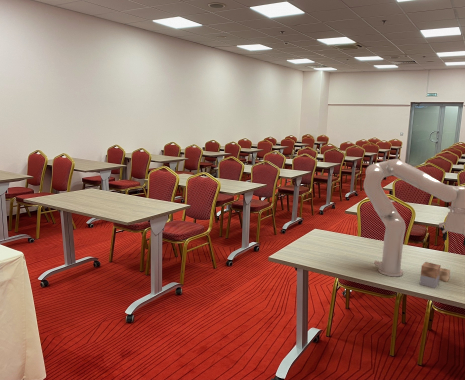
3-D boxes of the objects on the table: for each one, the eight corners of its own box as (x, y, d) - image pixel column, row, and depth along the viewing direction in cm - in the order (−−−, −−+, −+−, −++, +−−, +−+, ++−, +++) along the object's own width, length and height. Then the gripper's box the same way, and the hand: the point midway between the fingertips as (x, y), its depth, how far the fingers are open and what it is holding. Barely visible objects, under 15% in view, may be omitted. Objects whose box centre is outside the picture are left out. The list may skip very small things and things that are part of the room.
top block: (420, 274, 197) (421, 265, 196) (424, 270, 202) (425, 261, 201) (435, 278, 192) (437, 269, 191) (439, 274, 198) (440, 265, 197)
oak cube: (436, 279, 204) (437, 270, 203) (438, 276, 208) (439, 267, 207) (446, 281, 201) (447, 272, 200) (449, 278, 205) (450, 269, 204)
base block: (419, 284, 198) (420, 274, 197) (423, 280, 203) (424, 270, 202) (434, 288, 193) (435, 278, 193) (438, 283, 199) (439, 274, 198)
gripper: (438, 208, 203) (434, 239, 207) (475, 215, 191) (470, 248, 194) (444, 206, 208) (439, 237, 212) (480, 212, 196) (475, 245, 199)
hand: (454, 242), depth 203 cm, fingers open, 9 cm apart
